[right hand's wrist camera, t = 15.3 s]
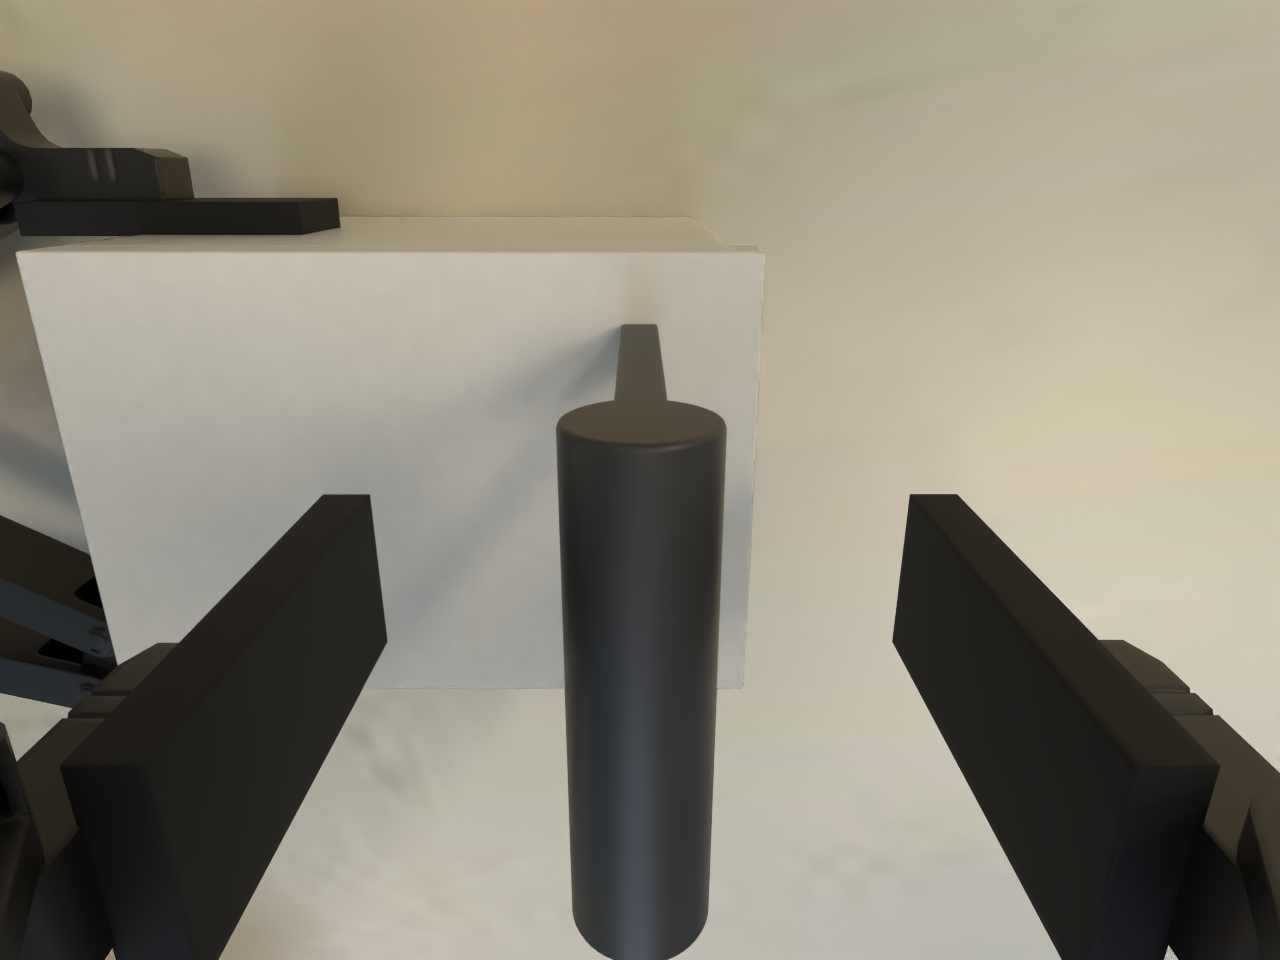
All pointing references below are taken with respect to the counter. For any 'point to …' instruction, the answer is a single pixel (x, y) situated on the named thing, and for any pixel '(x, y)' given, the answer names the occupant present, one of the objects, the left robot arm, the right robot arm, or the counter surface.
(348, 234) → the chest
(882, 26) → the counter surface
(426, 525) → the lid
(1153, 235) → the counter surface
